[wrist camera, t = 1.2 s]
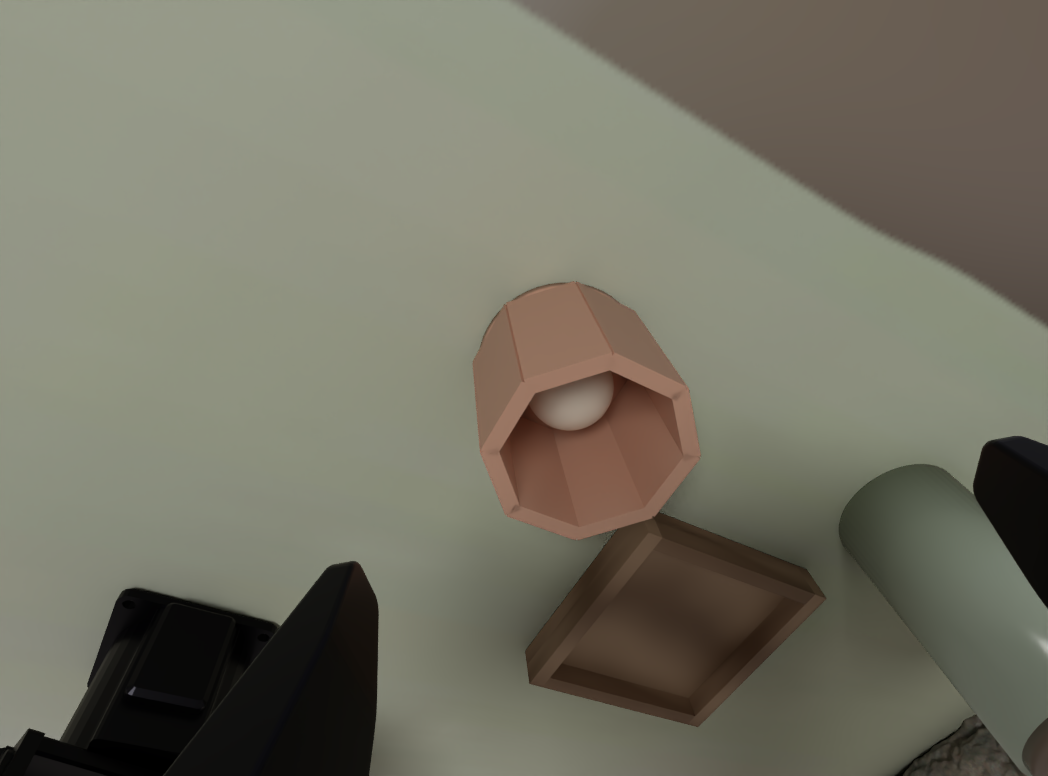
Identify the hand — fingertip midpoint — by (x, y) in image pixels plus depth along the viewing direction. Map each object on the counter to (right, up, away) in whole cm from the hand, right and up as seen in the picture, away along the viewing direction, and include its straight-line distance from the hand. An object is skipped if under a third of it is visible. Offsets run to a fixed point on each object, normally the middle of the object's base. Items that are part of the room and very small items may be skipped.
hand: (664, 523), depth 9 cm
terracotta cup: (-1, +3, +14) cm, 14 cm away
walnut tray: (+5, -9, +21) cm, 24 cm away
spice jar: (+15, -4, +20) cm, 25 cm away
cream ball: (-1, +3, +14) cm, 14 cm away
